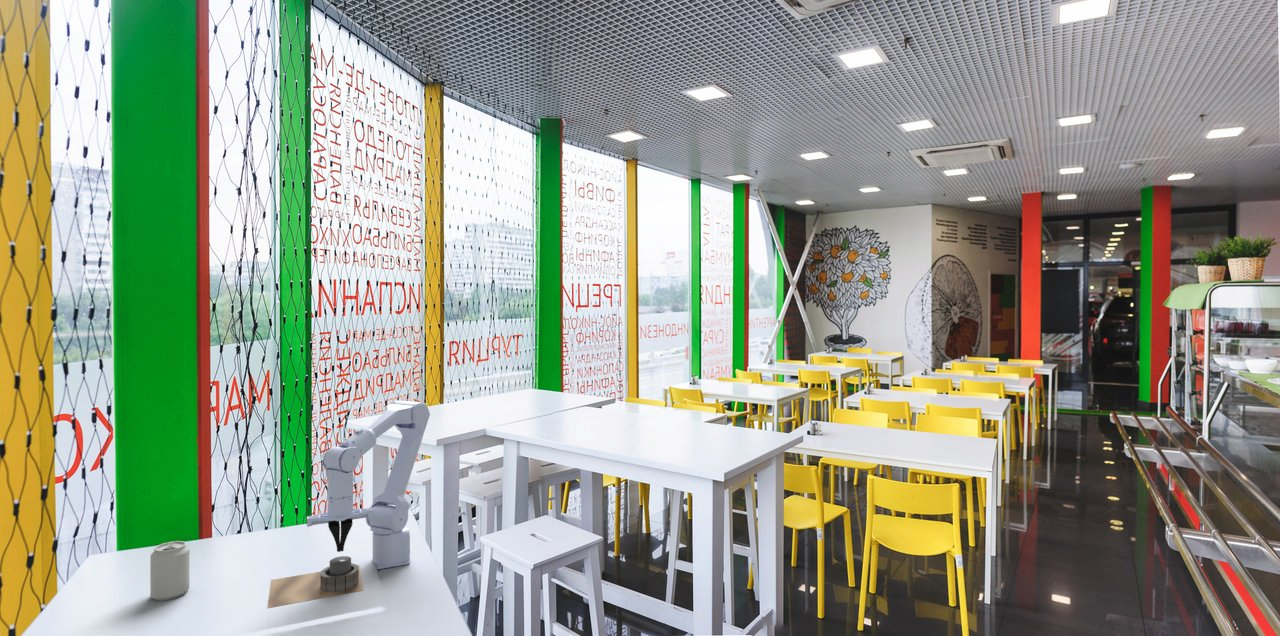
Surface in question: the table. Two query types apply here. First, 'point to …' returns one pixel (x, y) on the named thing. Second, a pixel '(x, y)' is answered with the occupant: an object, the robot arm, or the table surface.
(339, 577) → the barrel mount
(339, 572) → the dark gray cylinder
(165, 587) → the can
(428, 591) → the table surface
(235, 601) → the table surface
